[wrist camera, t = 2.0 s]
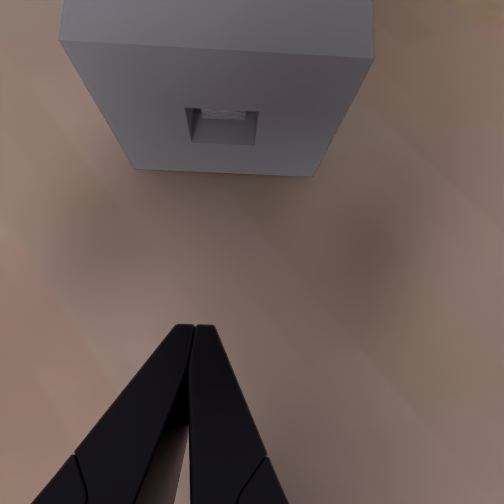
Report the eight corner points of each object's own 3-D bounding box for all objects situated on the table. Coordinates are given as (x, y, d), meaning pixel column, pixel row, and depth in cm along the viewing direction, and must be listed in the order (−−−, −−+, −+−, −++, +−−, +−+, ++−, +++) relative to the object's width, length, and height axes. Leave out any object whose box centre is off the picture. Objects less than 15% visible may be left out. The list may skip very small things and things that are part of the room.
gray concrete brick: (312, 176, 23) (374, 58, 13) (134, 168, 22) (58, 39, 12) (312, 128, 23) (371, -20, 14) (138, 119, 23) (69, -41, 13)
